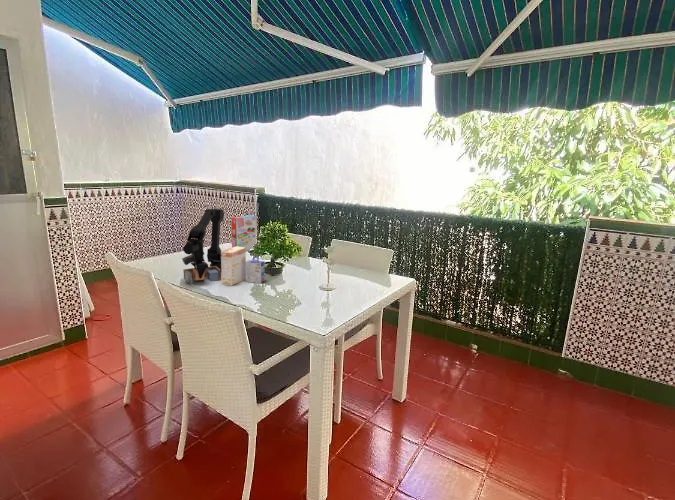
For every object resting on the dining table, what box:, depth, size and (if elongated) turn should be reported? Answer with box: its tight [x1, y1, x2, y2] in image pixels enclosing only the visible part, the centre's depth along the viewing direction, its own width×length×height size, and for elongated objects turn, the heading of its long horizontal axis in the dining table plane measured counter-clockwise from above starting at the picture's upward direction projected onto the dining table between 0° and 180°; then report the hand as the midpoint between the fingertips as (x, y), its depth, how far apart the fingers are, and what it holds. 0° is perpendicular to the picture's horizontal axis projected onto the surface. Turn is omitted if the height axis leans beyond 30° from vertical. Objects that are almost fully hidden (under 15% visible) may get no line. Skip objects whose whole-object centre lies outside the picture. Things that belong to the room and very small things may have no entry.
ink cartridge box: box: [245, 256, 265, 284], centre depth 220 cm, size 10×6×14 cm, turn 78°
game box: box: [231, 214, 257, 252], centre depth 294 cm, size 21×6×27 cm, turn 145°
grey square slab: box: [185, 271, 193, 284], centre depth 214 cm, size 2×6×6 cm, turn 34°
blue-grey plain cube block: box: [206, 270, 220, 282], centre depth 221 cm, size 5×6×5 cm
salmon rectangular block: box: [193, 269, 206, 281], centre depth 217 cm, size 5×6×5 cm
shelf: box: [183, 265, 222, 281], centre depth 220 cm, size 19×10×6 cm, turn 124°
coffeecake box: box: [221, 246, 247, 287], centre depth 217 cm, size 15×7×20 cm, turn 160°
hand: (199, 276), depth 217 cm, fingers closed on salmon rectangular block, 6 cm apart
